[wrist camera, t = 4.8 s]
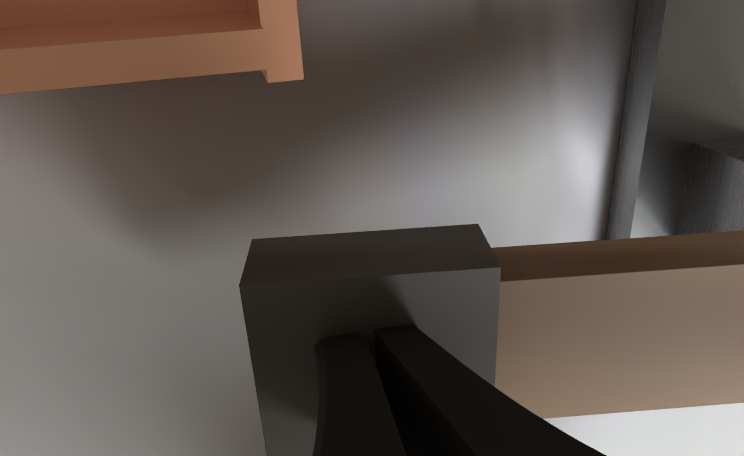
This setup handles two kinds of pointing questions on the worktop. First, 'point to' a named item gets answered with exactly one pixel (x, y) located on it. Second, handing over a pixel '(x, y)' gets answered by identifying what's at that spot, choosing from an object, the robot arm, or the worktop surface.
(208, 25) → the open box
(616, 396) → the wooden tray
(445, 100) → the worktop surface
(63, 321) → the worktop surface
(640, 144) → the stand
